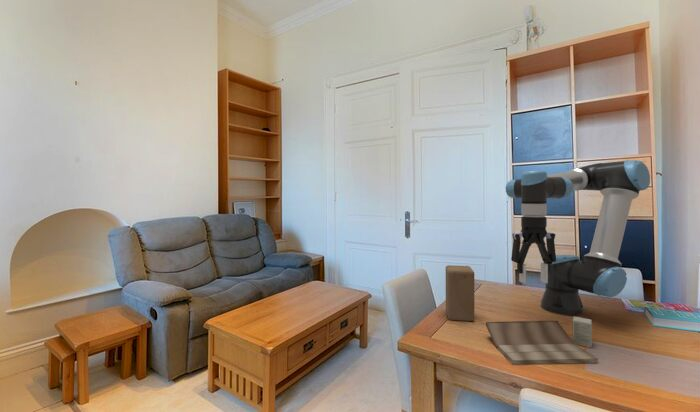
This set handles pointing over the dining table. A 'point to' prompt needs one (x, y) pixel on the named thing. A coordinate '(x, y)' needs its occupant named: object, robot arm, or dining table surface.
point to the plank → (527, 333)
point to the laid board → (546, 354)
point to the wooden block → (460, 293)
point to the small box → (582, 331)
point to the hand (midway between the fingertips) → (533, 282)
